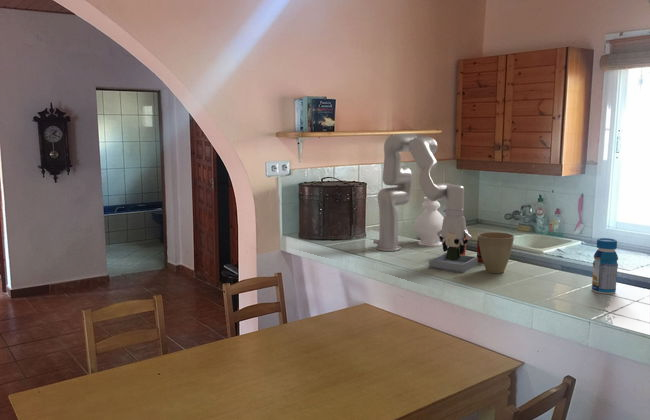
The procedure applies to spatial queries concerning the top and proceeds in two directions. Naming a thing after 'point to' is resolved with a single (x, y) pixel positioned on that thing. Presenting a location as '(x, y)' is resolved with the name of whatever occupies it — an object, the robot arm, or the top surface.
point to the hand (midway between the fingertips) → (453, 251)
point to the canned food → (479, 252)
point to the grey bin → (453, 263)
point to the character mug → (452, 247)
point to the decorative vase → (429, 224)
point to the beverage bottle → (605, 266)
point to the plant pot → (495, 250)
